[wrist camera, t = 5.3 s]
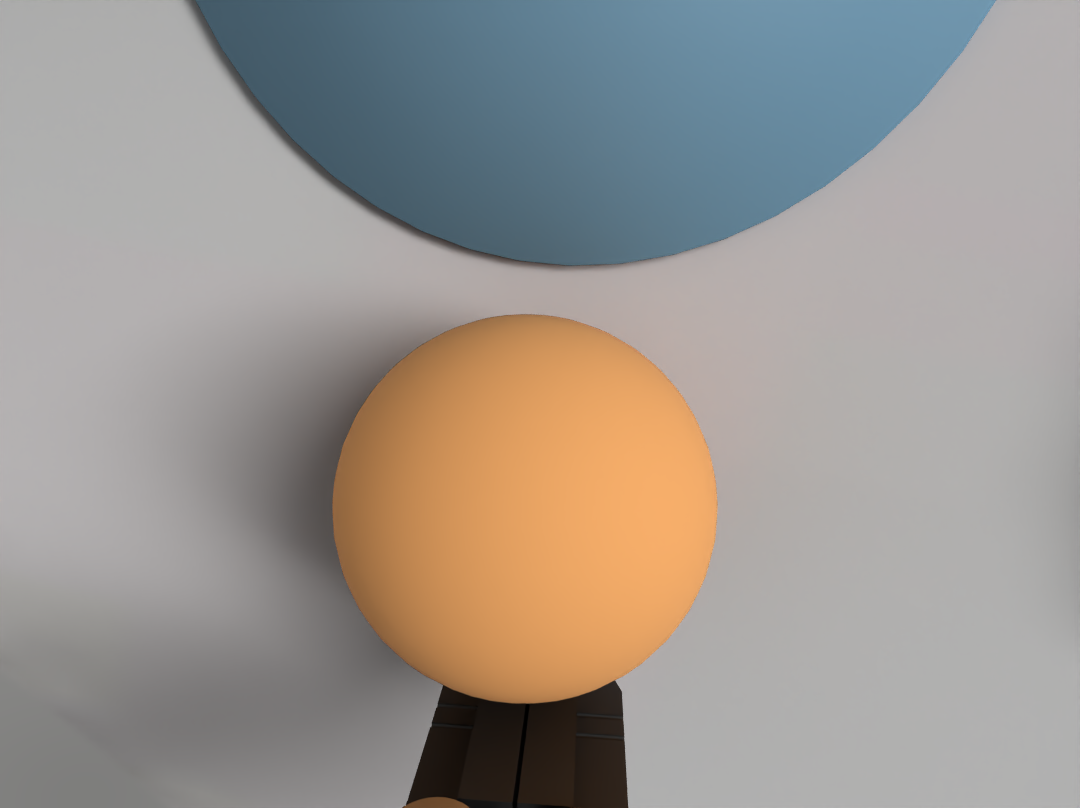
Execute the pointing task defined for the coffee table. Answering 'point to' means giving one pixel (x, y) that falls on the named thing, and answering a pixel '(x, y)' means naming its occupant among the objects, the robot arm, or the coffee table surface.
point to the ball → (524, 508)
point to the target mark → (589, 108)
